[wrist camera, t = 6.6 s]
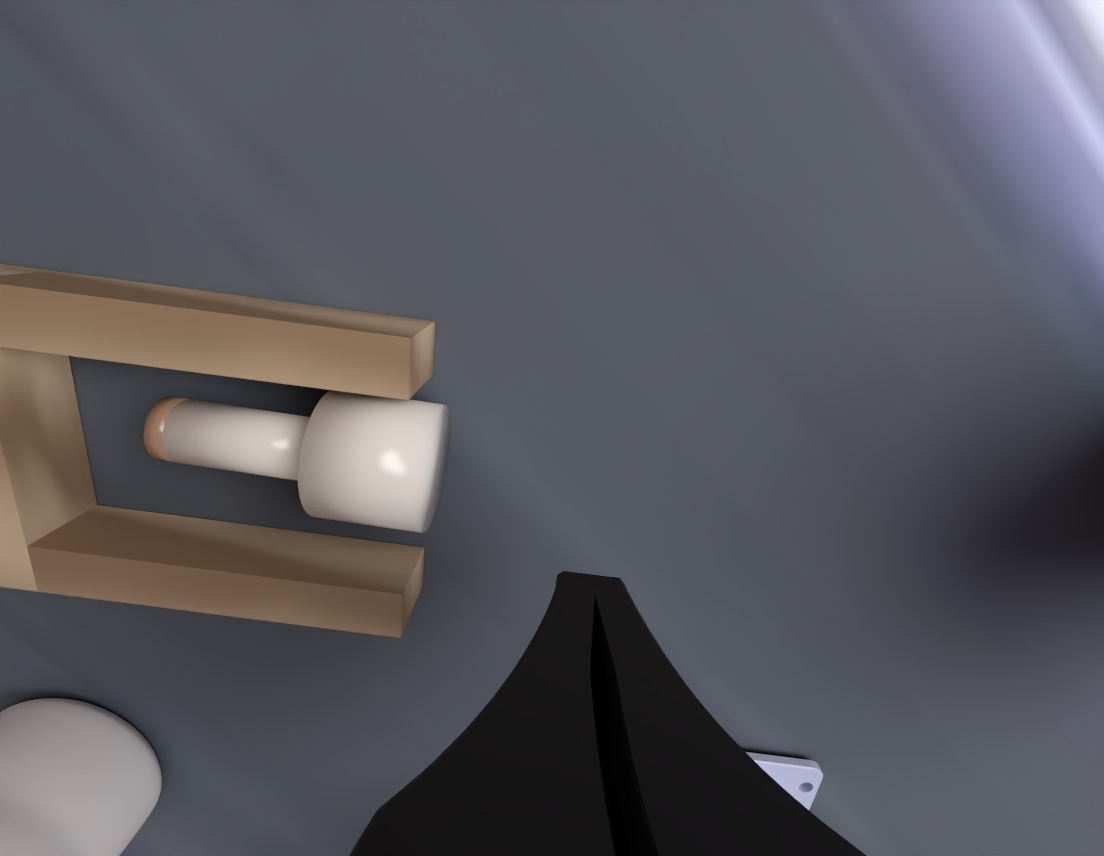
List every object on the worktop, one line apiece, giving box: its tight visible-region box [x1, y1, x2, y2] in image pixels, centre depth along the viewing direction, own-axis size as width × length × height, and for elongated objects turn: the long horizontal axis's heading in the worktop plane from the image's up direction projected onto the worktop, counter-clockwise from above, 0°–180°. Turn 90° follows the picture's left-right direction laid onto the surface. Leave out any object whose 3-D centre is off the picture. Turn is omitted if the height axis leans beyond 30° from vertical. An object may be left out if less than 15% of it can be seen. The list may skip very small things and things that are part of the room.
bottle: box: [144, 390, 450, 533], centre depth 15 cm, size 4×4×8 cm
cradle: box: [0, 264, 435, 638], centre depth 16 cm, size 9×13×2 cm
